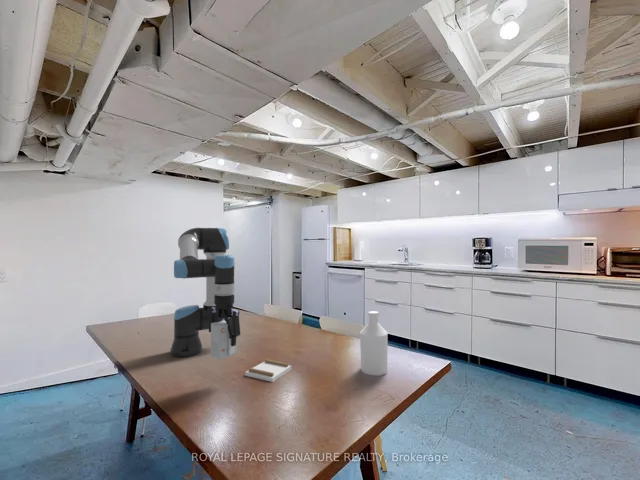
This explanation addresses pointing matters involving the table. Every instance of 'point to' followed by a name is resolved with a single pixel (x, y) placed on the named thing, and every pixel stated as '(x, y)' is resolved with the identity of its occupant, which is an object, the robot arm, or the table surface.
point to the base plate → (269, 370)
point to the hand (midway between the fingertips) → (224, 352)
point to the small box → (220, 340)
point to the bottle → (373, 346)
